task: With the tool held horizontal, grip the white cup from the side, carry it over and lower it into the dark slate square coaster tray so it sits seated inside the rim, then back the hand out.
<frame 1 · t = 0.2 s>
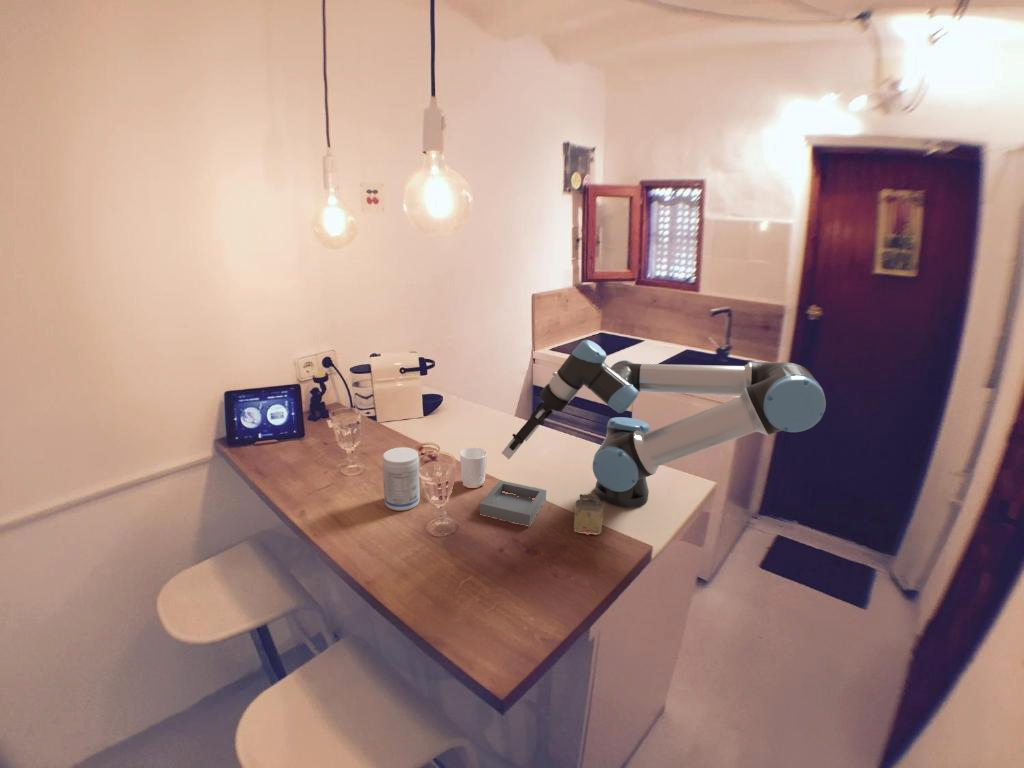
hand: (514, 446, 138), 15 cm above the breakfast bar, tool tilted 35°, fingers open, 13 cm apart
lighter: (587, 532, 126), on the breakfast bar
white cup: (473, 484, 148), on the breakfast bar
slate coaster tray: (513, 509, 135), on the breakfast bar
supplement tub: (402, 503, 136), on the breakfast bar
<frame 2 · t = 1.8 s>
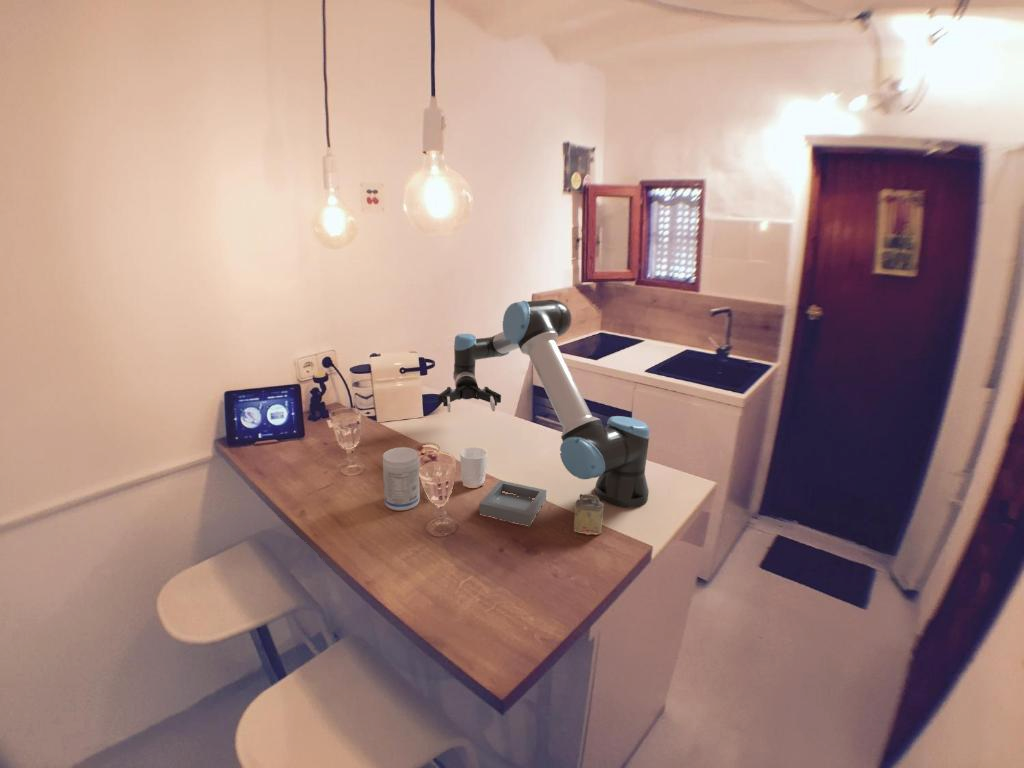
hand: (471, 407, 150), 21 cm above the breakfast bar, tool horizontal, fingers open, 13 cm apart
nothing on the breakfast bar moved.
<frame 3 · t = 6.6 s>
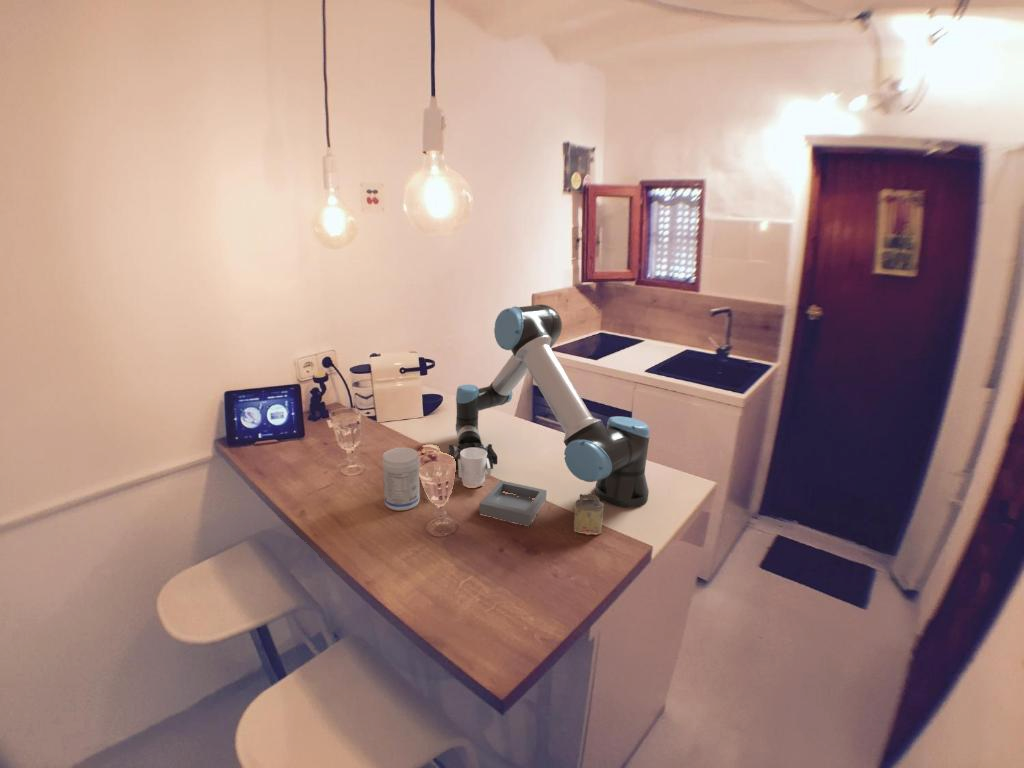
hand: (474, 472, 141), 6 cm above the breakfast bar, tool horizontal, fingers closed on white cup, 8 cm apart
white cup: (473, 484, 148), on the breakfast bar, touching gripper
everything else where it was.
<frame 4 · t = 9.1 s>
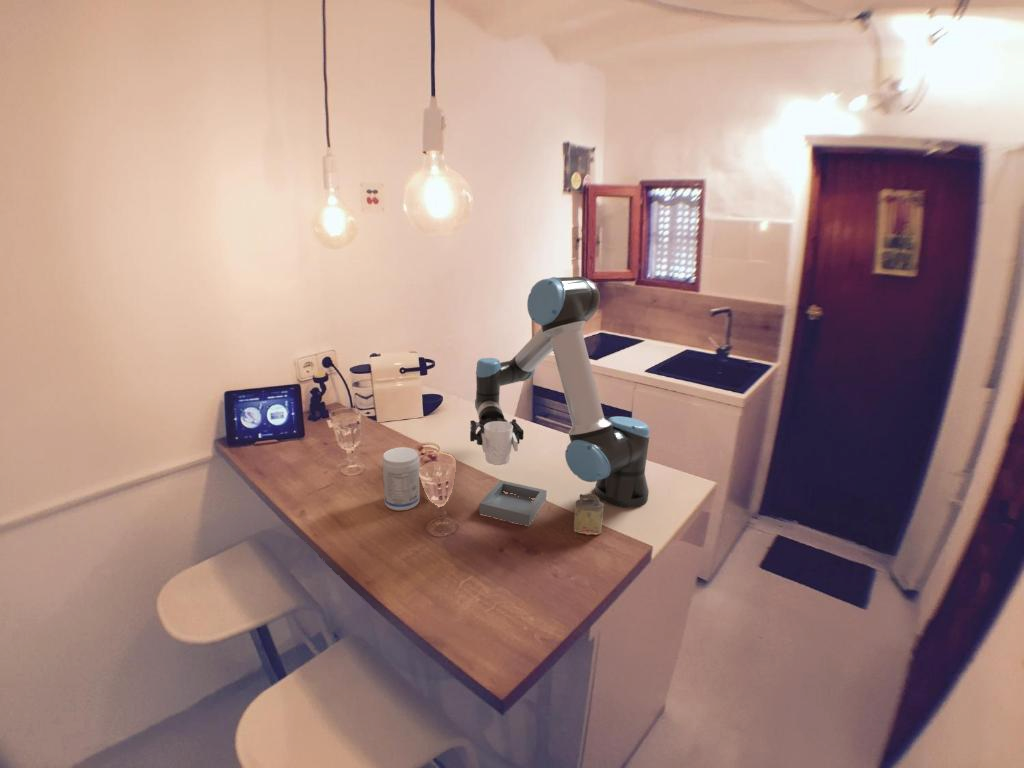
hand: (500, 447, 130), 18 cm above the breakfast bar, tool horizontal, fingers closed on white cup, 8 cm apart
white cup: (497, 460, 137), point 12 cm above the breakfast bar, touching gripper
everything else where it was.
when the fingers open (9 cm above the breakfast bar, at t = 12.1 s): white cup drops 2 cm, resting on slate coaster tray.
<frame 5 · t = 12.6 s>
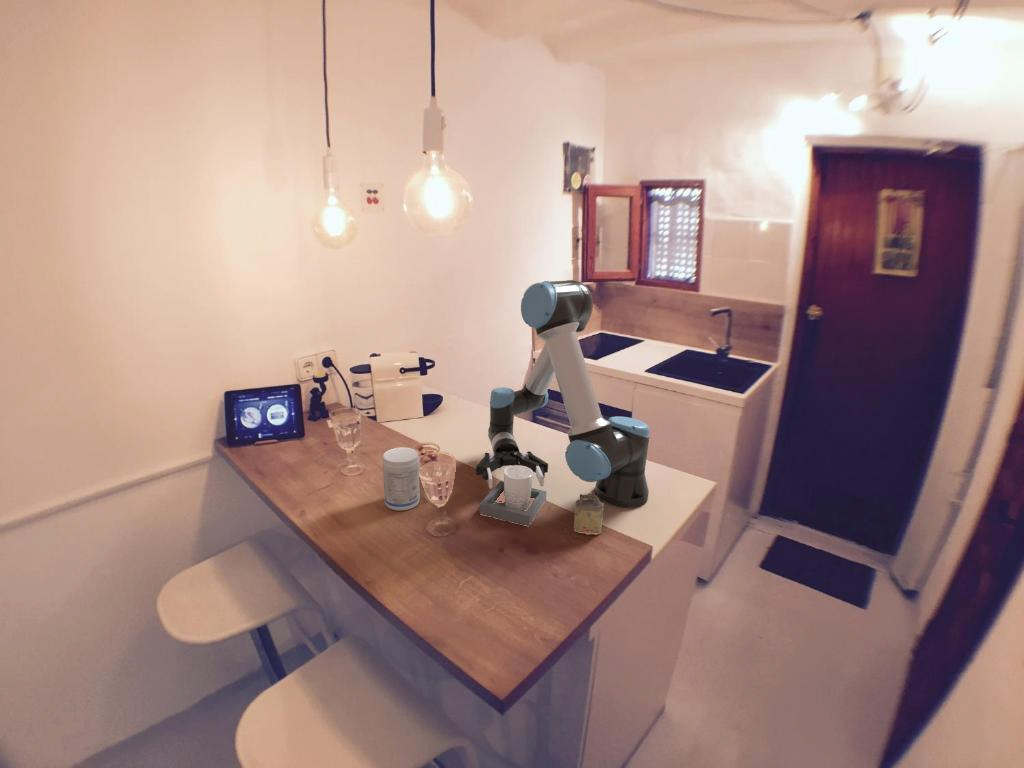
hand: (516, 482, 129), 10 cm above the breakfast bar, tool horizontal, fingers open, 13 cm apart
white cup: (517, 505, 135), point 1 cm above the breakfast bar, touching slate coaster tray
slate coaster tray: (513, 510, 135), on the breakfast bar, touching white cup
everything else where it was.
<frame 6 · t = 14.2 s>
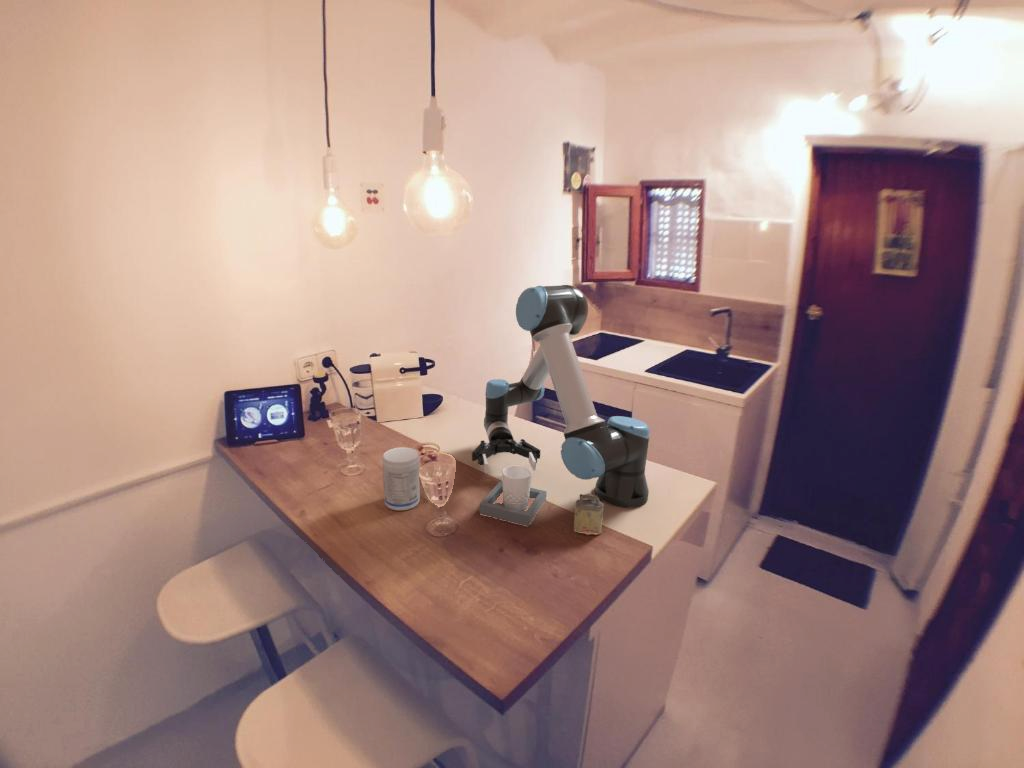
hand: (510, 467, 137), 10 cm above the breakfast bar, tool horizontal, fingers open, 13 cm apart
nothing on the breakfast bar moved.
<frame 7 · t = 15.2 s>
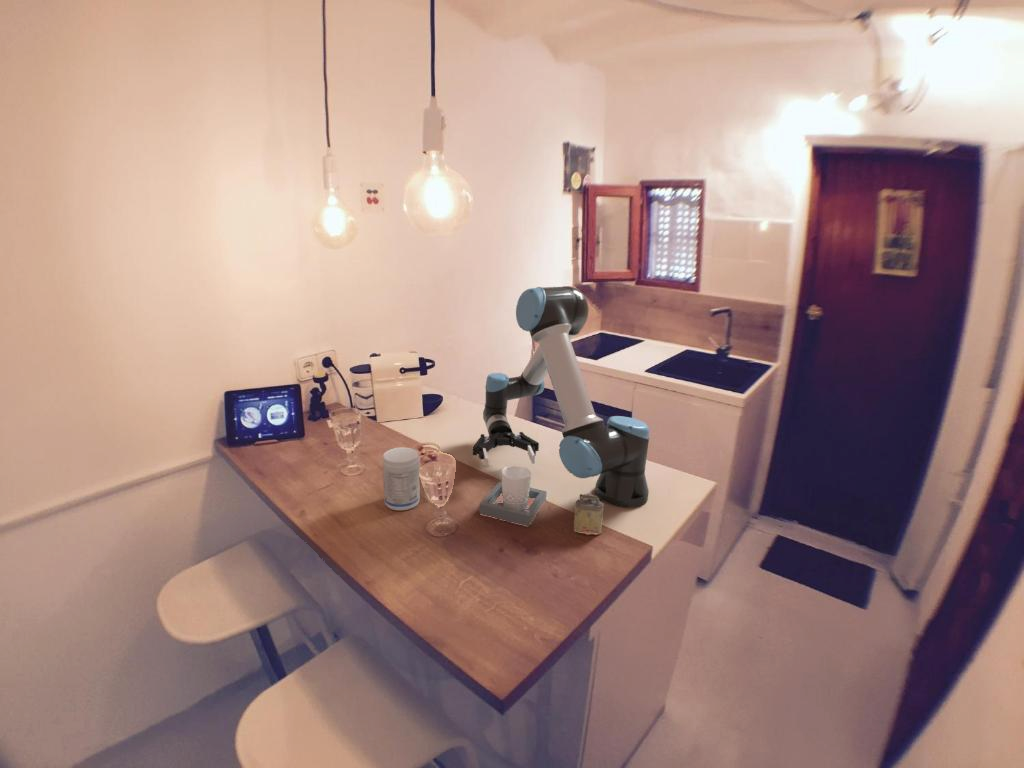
hand: (510, 461, 142), 9 cm above the breakfast bar, tool horizontal, fingers open, 13 cm apart
nothing on the breakfast bar moved.
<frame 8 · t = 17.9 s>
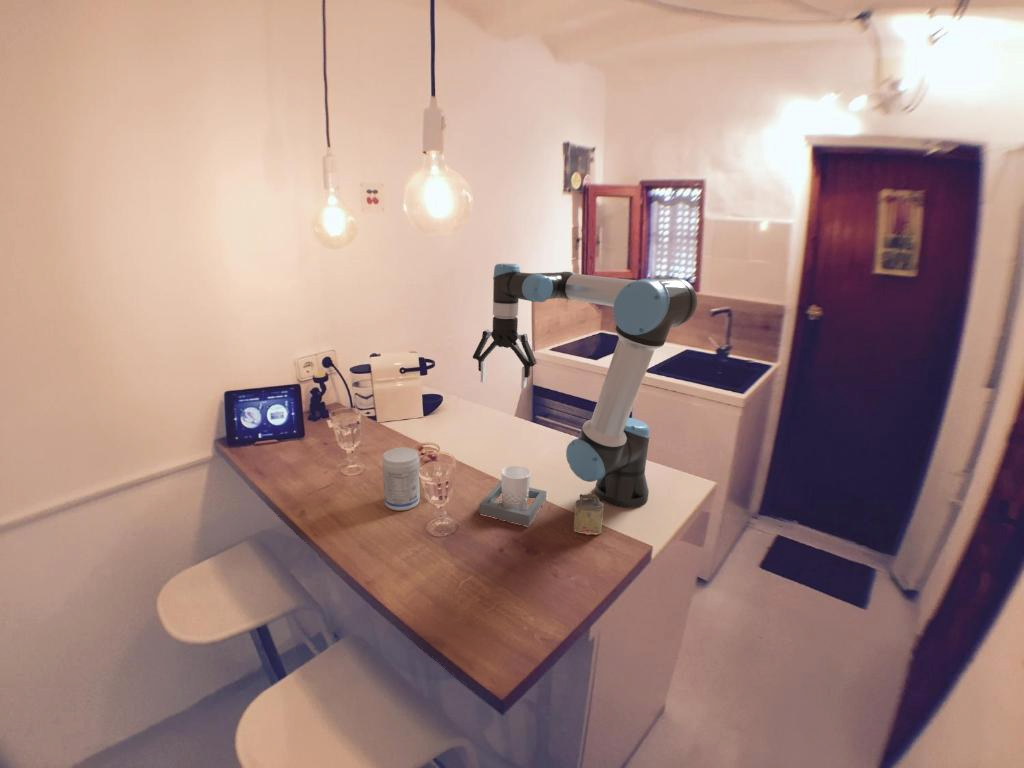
hand: (503, 384, 155), 27 cm above the breakfast bar, tool pointing down, fingers open, 13 cm apart
nothing on the breakfast bar moved.
at the end: white cup 0.4 cm off-centre on the slate coaster tray, point 1.4 cm above the slate coaster tray's base; white cup tilted 1°; slate coaster tray moved 0.6 cm from its start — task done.
